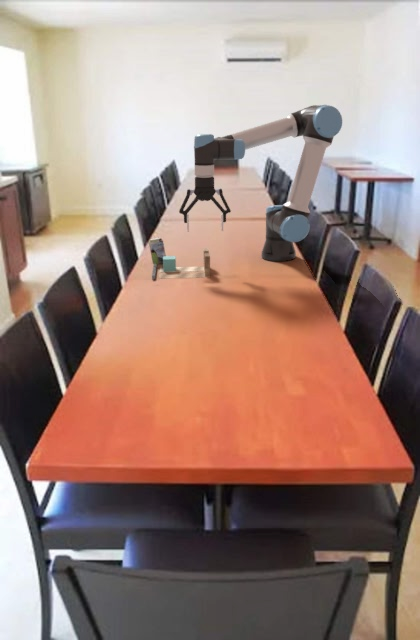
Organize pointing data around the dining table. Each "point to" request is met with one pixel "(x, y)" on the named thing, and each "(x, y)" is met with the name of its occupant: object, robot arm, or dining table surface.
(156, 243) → the beverage can
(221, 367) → the dining table surface
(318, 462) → the dining table surface
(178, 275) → the strip oak
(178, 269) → the beige long angled piece
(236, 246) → the dining table surface
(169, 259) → the block
